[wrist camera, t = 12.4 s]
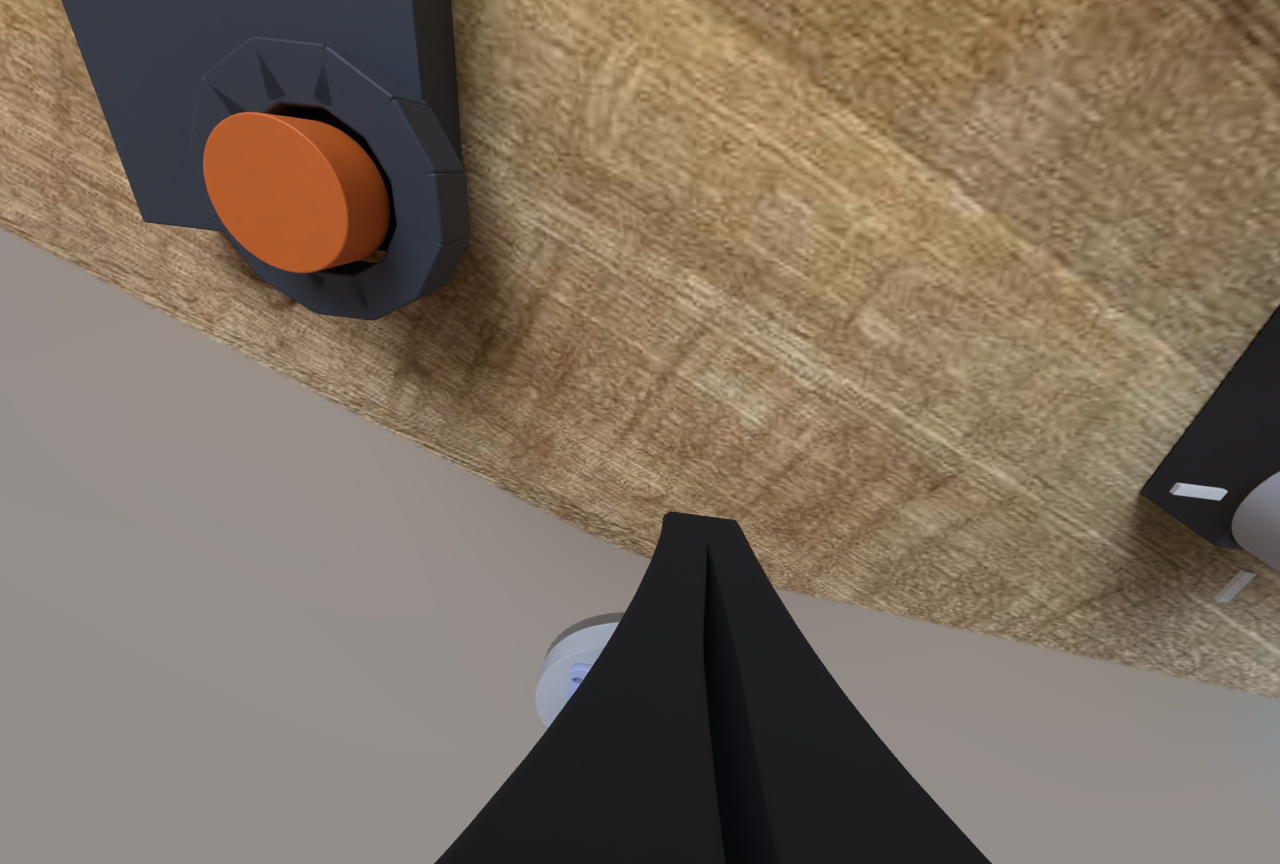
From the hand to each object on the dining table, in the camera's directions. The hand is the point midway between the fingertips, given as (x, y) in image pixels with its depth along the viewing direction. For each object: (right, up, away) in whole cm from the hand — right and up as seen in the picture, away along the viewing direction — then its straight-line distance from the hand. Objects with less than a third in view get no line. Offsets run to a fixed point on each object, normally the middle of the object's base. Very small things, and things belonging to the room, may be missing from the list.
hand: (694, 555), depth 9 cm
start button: (-9, +8, +3) cm, 13 cm away
